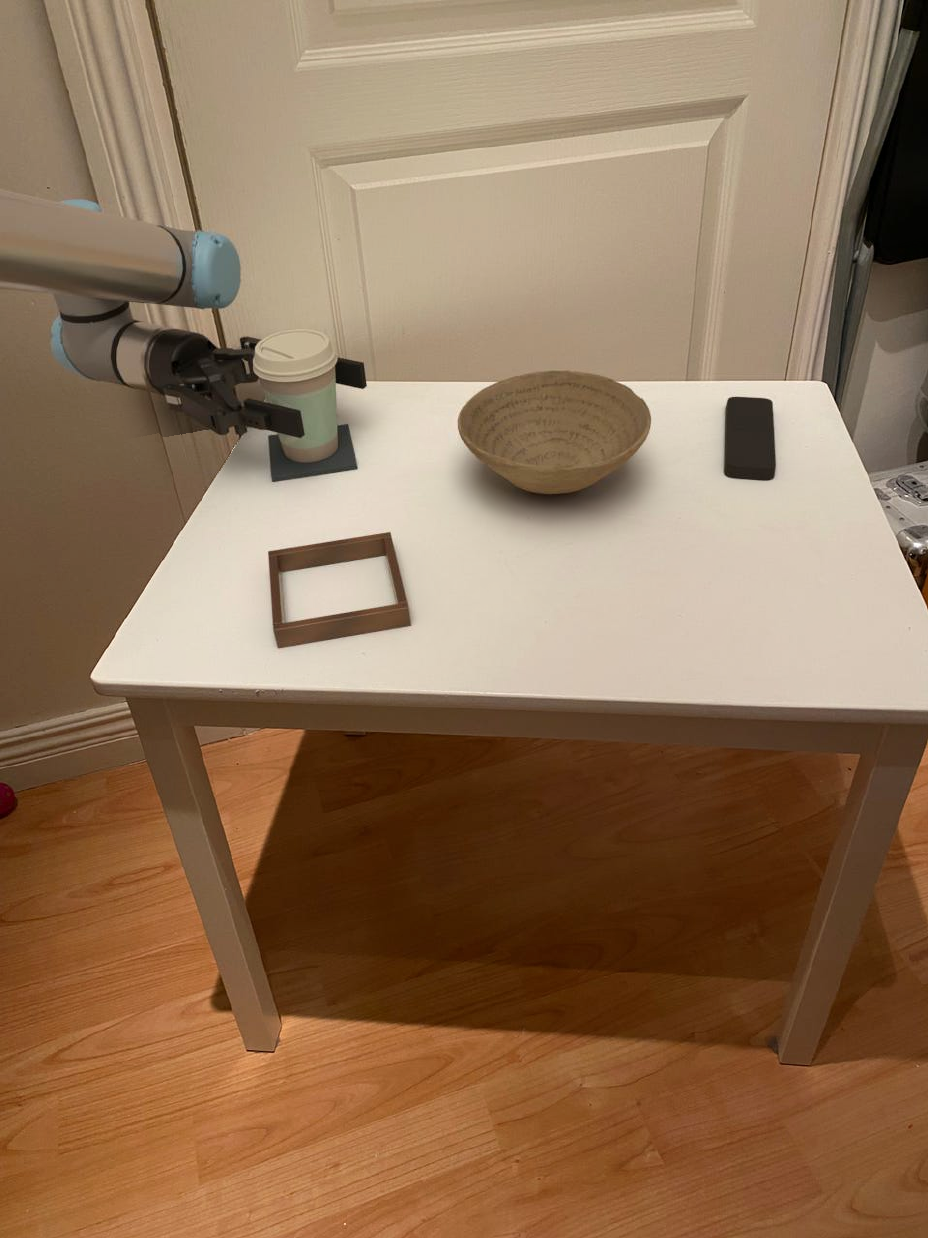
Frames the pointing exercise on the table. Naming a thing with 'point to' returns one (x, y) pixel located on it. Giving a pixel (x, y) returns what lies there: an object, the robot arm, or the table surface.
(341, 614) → the wooden square frame
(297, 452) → the coffee cup
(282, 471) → the felt mat
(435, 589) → the table surface
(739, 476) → the remote control
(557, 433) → the bowl
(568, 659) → the table surface
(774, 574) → the table surface
